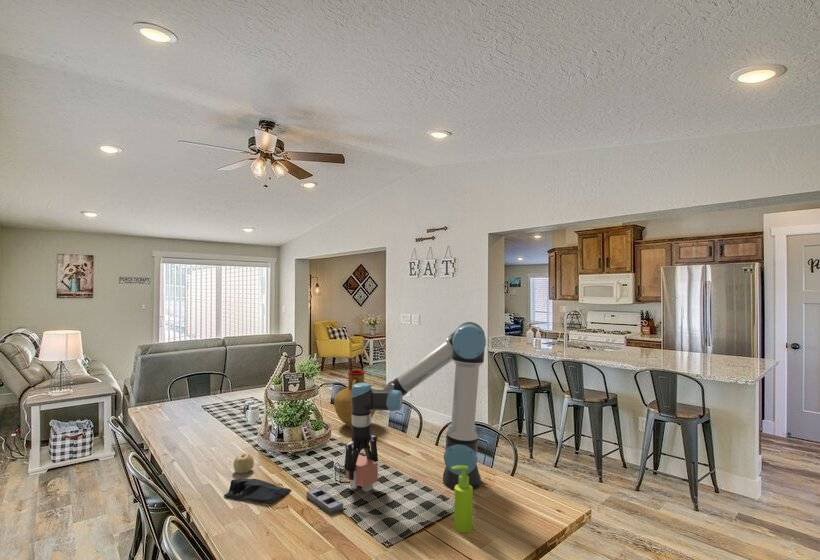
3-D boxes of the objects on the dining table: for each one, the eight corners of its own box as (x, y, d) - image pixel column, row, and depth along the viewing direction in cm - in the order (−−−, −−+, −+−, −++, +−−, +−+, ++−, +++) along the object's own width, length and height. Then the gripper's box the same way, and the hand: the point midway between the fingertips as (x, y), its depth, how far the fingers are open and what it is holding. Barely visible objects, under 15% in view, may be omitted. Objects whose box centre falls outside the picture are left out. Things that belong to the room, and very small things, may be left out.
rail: (343, 509, 151) (343, 503, 151) (330, 514, 148) (330, 508, 148) (318, 492, 163) (318, 487, 163) (306, 497, 160) (306, 491, 160)
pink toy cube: (377, 488, 165) (377, 463, 165) (362, 494, 160) (362, 468, 160) (360, 478, 173) (360, 454, 173) (345, 484, 168) (345, 459, 168)
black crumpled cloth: (267, 510, 151) (267, 497, 151) (219, 497, 160) (220, 484, 160) (294, 491, 165) (295, 479, 165) (250, 480, 174) (250, 468, 174)
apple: (257, 466, 185) (257, 454, 181) (244, 481, 178) (244, 469, 175) (243, 458, 187) (242, 446, 183) (229, 472, 180) (228, 460, 177)
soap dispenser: (449, 523, 144) (450, 462, 144) (470, 522, 144) (470, 462, 145) (452, 533, 138) (453, 470, 138) (474, 532, 139) (474, 469, 139)
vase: (375, 433, 228) (375, 376, 228) (329, 432, 228) (330, 375, 228) (378, 419, 251) (379, 367, 252) (337, 418, 252) (338, 367, 252)
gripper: (375, 416, 176) (375, 473, 176) (333, 428, 163) (334, 489, 162) (387, 420, 171) (387, 479, 170) (345, 432, 157) (345, 496, 157)
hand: (361, 484), depth 166 cm, fingers closed on pink toy cube, 7 cm apart
